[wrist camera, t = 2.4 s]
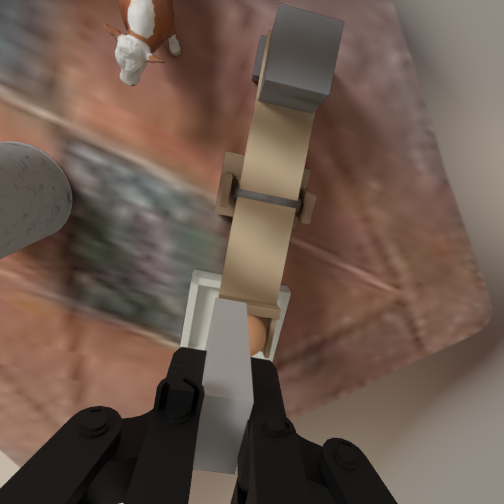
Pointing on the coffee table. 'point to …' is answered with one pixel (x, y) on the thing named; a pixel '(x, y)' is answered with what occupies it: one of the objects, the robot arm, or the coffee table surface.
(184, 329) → the dish
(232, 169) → the fulcrum
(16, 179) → the grey metal can
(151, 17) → the bull figurine
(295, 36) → the lever
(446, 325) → the coffee table surface
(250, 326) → the ball
